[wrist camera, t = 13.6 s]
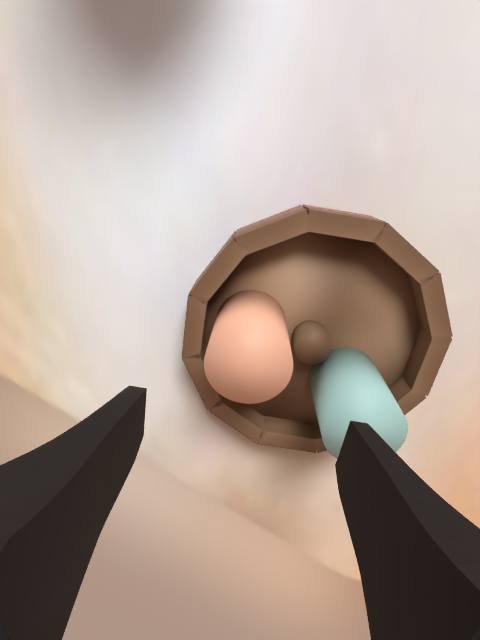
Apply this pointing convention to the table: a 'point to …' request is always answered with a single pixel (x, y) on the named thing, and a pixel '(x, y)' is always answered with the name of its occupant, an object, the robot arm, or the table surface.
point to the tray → (323, 312)
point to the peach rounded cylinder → (249, 348)
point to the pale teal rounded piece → (354, 399)
